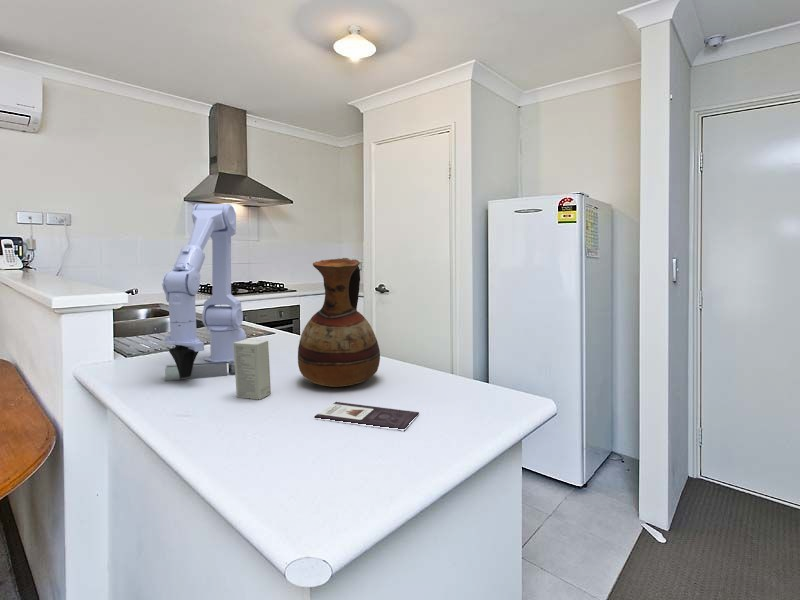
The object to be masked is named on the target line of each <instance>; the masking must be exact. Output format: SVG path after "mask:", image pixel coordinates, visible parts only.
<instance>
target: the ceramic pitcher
mask: <svg viewBox="0 0 800 600" xmlns="http://www.w3.org/2000/svg"><path fill="white" fill-rule="evenodd" d="M360 263H361V262H360V261H359V260H357V259H354V258H352V259H350V258H347V257H342V258H330V259H321V260H319V261H315V262H312V266H313V267H314V268H315V269H316V270H317V271H318V272H319V273H320V274H321V276H322V279H323V288H324V301H323V305H322V307H321V308H320V309H319V310H318V311H317V312H316V313H314V314H313V315H312V316H311V318H310V319H309V320H308V322H307V323H306V325H305V326H304V329H303V330H302V333H301V335H300V338H299V343H298V347H297V348H298V349H297V364H298V365H297V366H298V369H299V372H300V375H302V376H303V377H304V378H305V379H306V380H308V381H309V382H311V383H313V384H316V385H319V386H327V387H334V388H337V387H344V386H345V387H347V386H352V385H356V384H360V383H363V382H365V381H367V380H369V379H370V378H372V377H373V376H374V375H375V374H377V372H378V369H379V366H380V362H381V352H380V347H379V343H378V340H377V337H376V334H375V332H374V330H373V328H372V326H371V324H370V322H369V321H368V320H367V319H366V317H365V316H364V315H363V314H362V313H360V312H359V311H358V309H357V308H358V302H359V295H360V287H361V286H360V285H361V269H360V266H359V265H360Z"/></svg>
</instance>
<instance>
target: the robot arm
mask: <svg viewBox="0 0 800 600" xmlns="http://www.w3.org/2000/svg"><path fill="white" fill-rule="evenodd" d="M191 218H192V223H193V227H192V231H191V234H190V237H189V241H188V244H187V245H185V246H184V245H183V247H181V249H180V251H179V254H178V256H177V258H176V261H175V264H174V265H173V268H172V269H171V270H169V271H168V272H167V273H165V275H163V279H162V284H161V285H162V286H161V287H162V290H163V293H164V295H165V301H166V302H167V303H168V313H169V314H168V315H169V334H170V335H166V336H164V341H165V342H164V343H165V344H166V345H168V346H175V347H173V348H169V350H168V352H169V354H170V355H171V357H172V358H173V360H174V363H175V364H176V365H177V368H178V372H179V375H180V377H181V378H185V377H189V376H191V373H192V368H193V364H194V363H195V360H196V358H197V356H198V354H199V352H203V351H205V342H203V341H201V340H200V339H199V338H198V337H197V336H198V333H197V311H196V295H197V293H198V292H199V290H200V286H201V285H200V281H201V280H200V279H201V274H200V272H201V270H202V266H203V264H204V261H205V259H206V254H205V253H204V249H205V247H206V246H207V243H208V241H209V240H210V239H211V244H212V246H211V247H212V253H211V254H212V255H211V256H212V258H211V259H212V260H211V261H212V271H211V272H212V273H211V274H212V286H211V287H212V294H211V296H210V297H209V298H207V299H206V300H205V301H204V302H203V310H202V314H201V321H202V324H203V325H204V327H205V328H206V329H207V331H209V342H210V343H209V346H210V356H209V357H204V359H203V360H204V361H206V362H218V361H227V363H228V362H229V361H232V360H234V344H233V343H234V342H238V341H241V340H244V339H247V335H246V332H245V330H244V329H243V328H242V327H240V326H241V325H242V323H243V320H244V314H243V309H242V301H241V300H239V299H238V298H237V297H235V296H234V295H233V294H232V237H233V236H234V235H236V234H237V232H236V230H237V213H236V211H235V208H234V207H233V205H232V204H231V203H196V204H194V206H193V207H192V211H191Z"/></svg>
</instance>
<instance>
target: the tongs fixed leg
mask: <svg viewBox="0 0 800 600" xmlns="http://www.w3.org/2000/svg"><path fill="white" fill-rule="evenodd" d="M216 363H228V364H227V368H228V375H230V376H235V360H232V361H229V362H227V361H218V362H211V361H206V362H194V364H193V365H203V364H216ZM176 366H177V365H176V363H175V364H166V365H165V367H176Z"/></svg>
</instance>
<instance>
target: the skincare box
mask: <svg viewBox="0 0 800 600" xmlns="http://www.w3.org/2000/svg"><path fill="white" fill-rule="evenodd" d="M233 344H234V360H235V375H234V376H235V387H236V388H235V390H236V392H235V393H236V398H242V399H249V398H250V400H258V399H259V400H262V399H264V398H266V397H268V396H270V395H271V394H272V391H271V372H270V371H271V369H270V353H269V352H270V350H269V349H270V348H269V340H264V339H251V338H250V339H247V338H246V339H244V340H241V341H238V342H234V343H233Z"/></svg>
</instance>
